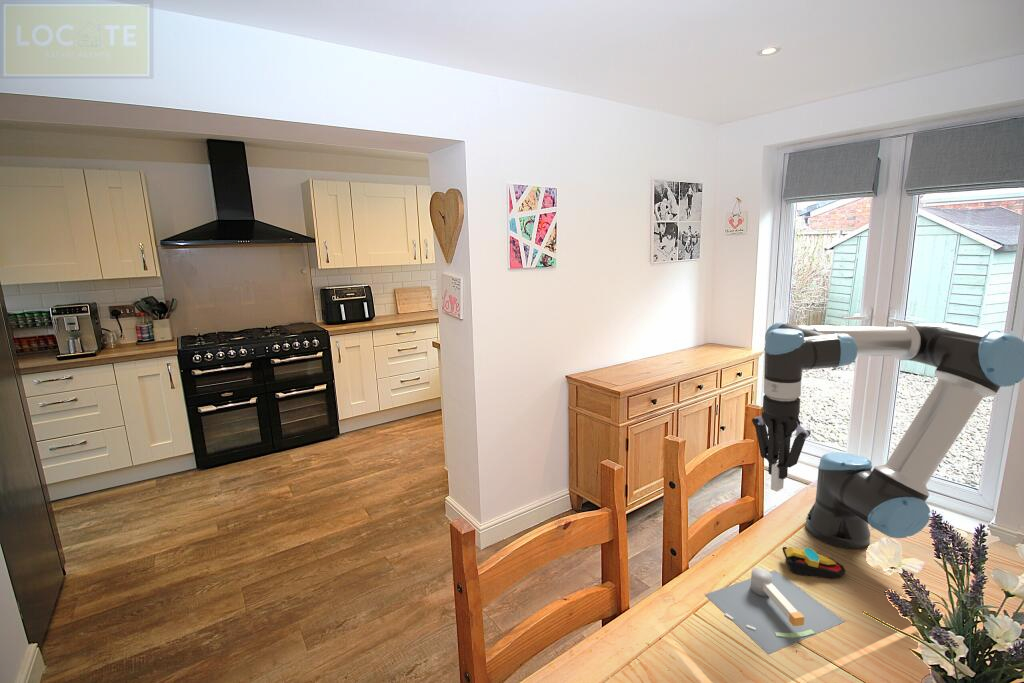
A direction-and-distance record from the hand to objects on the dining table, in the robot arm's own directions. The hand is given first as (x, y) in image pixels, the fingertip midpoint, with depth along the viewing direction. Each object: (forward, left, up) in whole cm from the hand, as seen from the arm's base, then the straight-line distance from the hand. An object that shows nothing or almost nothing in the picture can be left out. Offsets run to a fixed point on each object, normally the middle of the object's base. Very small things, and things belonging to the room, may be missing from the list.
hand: (777, 488), depth 117 cm
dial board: (+10, +10, -24) cm, 27 cm away
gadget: (-10, +4, -24) cm, 26 cm away
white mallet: (+9, +10, -22) cm, 26 cm away
